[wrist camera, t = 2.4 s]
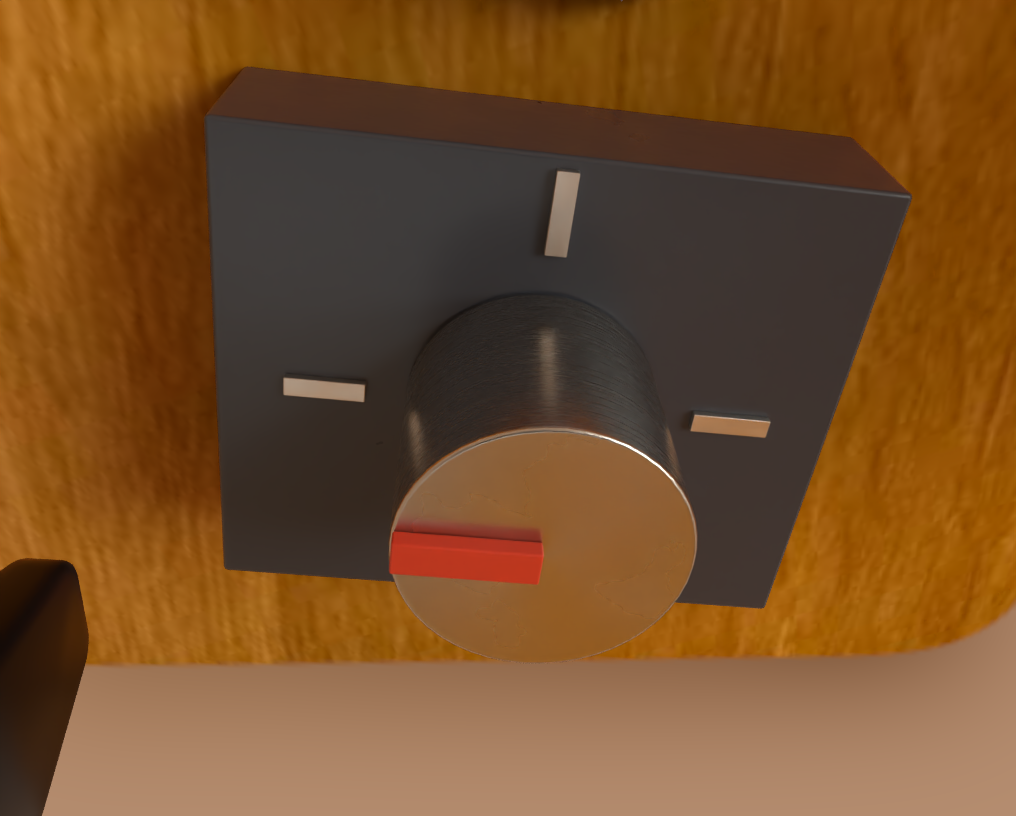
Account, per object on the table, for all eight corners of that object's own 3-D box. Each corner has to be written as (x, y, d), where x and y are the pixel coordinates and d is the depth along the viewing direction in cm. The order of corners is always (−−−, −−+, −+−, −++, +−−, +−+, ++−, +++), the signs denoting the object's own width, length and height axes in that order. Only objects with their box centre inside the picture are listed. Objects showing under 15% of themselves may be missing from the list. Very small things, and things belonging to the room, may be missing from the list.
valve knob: (679, 306, 16) (736, 456, 13) (629, 512, 19) (666, 688, 15) (415, 280, 16) (396, 427, 12) (398, 493, 18) (378, 670, 15)
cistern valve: (853, 136, 18) (919, 198, 15) (733, 518, 23) (767, 616, 20) (243, 64, 17) (199, 118, 14) (252, 478, 22) (221, 576, 19)
